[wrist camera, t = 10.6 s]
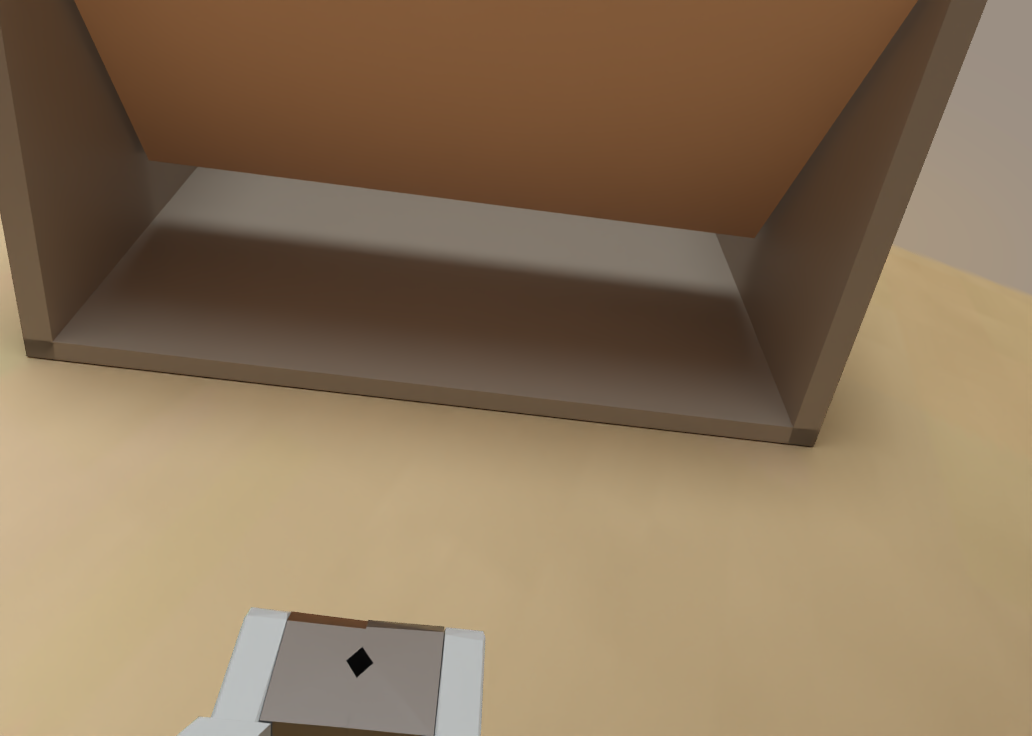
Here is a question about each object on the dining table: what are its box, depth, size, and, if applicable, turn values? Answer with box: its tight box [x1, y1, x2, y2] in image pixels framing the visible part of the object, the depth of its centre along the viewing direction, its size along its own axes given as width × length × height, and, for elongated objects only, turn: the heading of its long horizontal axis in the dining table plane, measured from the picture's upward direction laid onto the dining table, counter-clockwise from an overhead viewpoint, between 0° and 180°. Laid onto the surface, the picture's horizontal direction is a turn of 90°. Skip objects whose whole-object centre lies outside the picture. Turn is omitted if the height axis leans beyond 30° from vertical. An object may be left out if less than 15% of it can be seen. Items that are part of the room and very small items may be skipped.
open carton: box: [0, 0, 987, 446], centre depth 30 cm, size 23×16×14 cm
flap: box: [74, 0, 918, 238], centre depth 25 cm, size 21×1×14 cm
